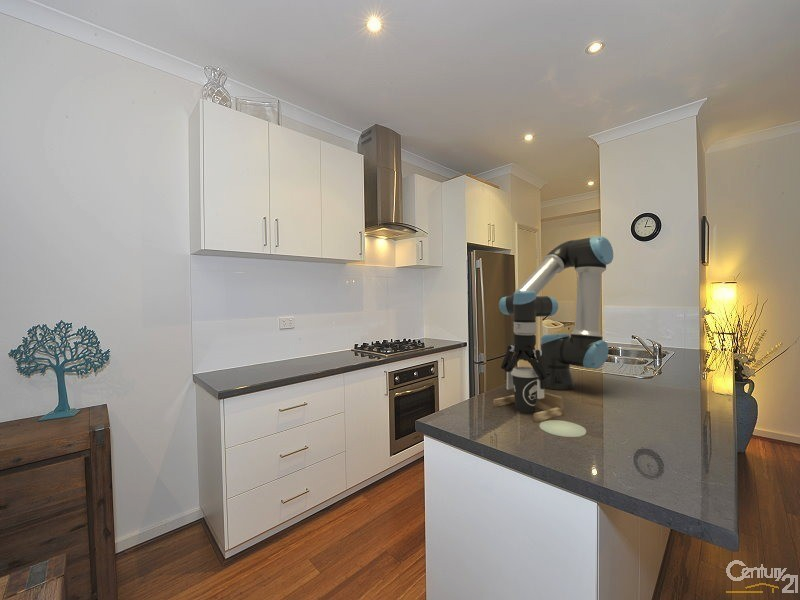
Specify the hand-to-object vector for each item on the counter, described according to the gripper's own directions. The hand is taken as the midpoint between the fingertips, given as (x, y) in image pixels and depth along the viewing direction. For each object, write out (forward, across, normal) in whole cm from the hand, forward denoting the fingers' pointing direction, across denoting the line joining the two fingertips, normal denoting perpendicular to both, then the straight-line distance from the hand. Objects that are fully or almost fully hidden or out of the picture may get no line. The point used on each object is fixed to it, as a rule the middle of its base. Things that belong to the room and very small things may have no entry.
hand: (524, 393), depth 124 cm
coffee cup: (+6, 0, 0) cm, 6 cm away
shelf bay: (+6, 0, 0) cm, 6 cm away
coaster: (+6, +18, -4) cm, 19 cm away
